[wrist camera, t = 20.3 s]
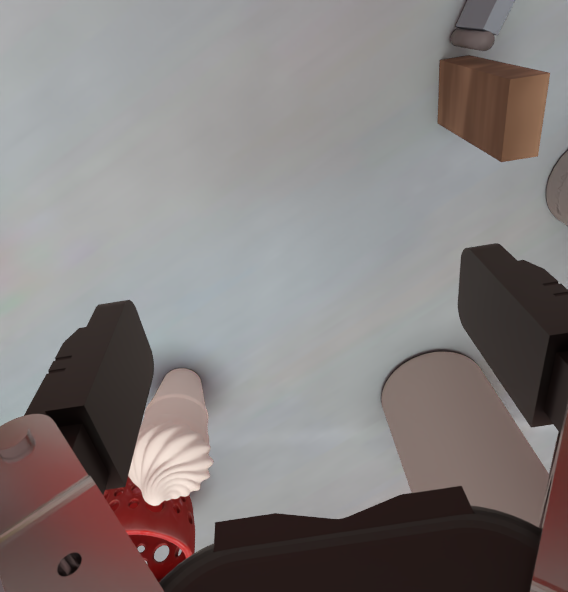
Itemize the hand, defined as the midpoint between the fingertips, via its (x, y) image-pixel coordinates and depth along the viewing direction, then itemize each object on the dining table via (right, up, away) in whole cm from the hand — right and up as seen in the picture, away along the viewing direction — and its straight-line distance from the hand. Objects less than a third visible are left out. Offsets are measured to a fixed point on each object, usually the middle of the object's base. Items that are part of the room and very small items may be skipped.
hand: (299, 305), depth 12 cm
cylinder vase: (+18, -11, +46) cm, 51 cm away
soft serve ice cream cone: (-12, -10, +43) cm, 46 cm away
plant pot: (-18, -23, +51) cm, 59 cm away
